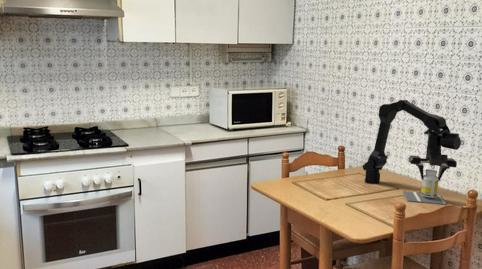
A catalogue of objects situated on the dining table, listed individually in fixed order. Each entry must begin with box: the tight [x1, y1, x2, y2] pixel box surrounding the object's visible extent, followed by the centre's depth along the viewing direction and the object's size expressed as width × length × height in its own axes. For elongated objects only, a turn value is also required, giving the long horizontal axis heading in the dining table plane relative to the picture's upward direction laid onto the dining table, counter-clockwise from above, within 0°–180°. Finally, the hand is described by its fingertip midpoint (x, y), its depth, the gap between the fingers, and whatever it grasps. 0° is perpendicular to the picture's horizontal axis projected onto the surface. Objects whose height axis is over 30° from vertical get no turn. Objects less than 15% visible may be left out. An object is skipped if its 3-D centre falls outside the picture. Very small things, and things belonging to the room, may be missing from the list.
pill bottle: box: [420, 168, 439, 198], centre depth 206 cm, size 6×6×12 cm
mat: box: [402, 190, 447, 206], centre depth 207 cm, size 16×14×1 cm
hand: (430, 180), depth 205 cm, fingers closed on pill bottle, 6 cm apart
